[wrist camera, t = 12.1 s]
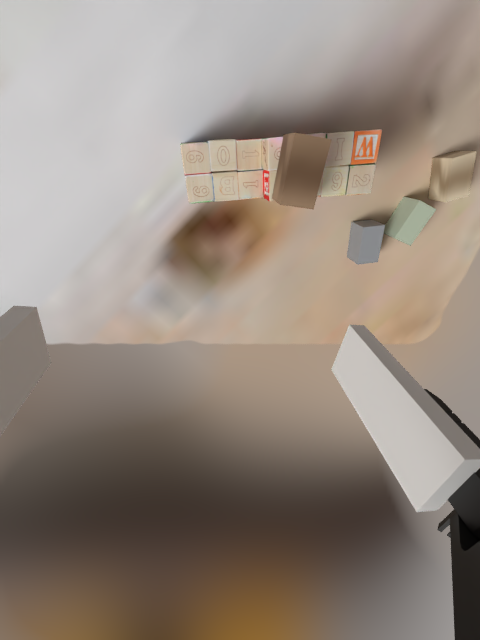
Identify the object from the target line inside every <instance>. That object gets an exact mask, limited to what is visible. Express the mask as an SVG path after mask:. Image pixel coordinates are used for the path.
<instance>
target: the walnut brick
mask: <svg viewBox="0 0 480 640" xmlns="http://www.w3.org/2000/svg"><path fill="white" fill-rule="evenodd" d="M331 141H332V139H327V138H321V137H316V136H311V135H306V134H300V133H290V134H284V136H283V141H282V146H281V152H280V157H279V162H278V168H277V173H276V178H275V184H274V189H273V194H272V199H273V200H274V201H276V202H277V203H279V204H280V205H286V206H294V207H301V208H308V209H314V205H315V201H316V197H317V194H318V190H319V186H320V182H321V178H322V175H323V171H324V167H325V163H326V160H327V156H328V152H329V148H330V144H331Z"/></svg>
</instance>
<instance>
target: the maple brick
mask: <svg viewBox="0 0 480 640" xmlns="http://www.w3.org/2000/svg"><path fill="white" fill-rule="evenodd" d="M476 153H477V151H454V152H450V153H447V154H444V155H440V156H437V157H434V158H433V160H432V168H431V177H430V186H429V195H428V199H431V200H436V201H441V202H445V203H446V202H450V201H453V200H457V199H460V198H463V197H467V196H469V191H470V186H471V180H472V175H473V170H474V164H475V159H476Z"/></svg>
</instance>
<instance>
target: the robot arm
mask: <svg viewBox="0 0 480 640" xmlns="http://www.w3.org/2000/svg"><path fill="white" fill-rule="evenodd" d="M50 364H51V359H50V356H49V352H48V348H47V345H46V341H45V337H44V333H43V330H42V326H41V322H40V319H39V315H38V311H37V307H26V306H13V307H12V308H11V309H9V310H8V311H7V312H6V313H5V314H3V315H2V316H1V317H0V436H1V434H2V433H3V432H4V430H5V429H6V427H7V426H8V424H9V423H10V422H11V420H12V418H13V417H14V416H15V414H16V413H17V411H18V410H19V409H20V407H21V405H22V404H23V403H24V401H25V400H26V399H27V397H28V396H29V394H30V393H31V391H32V390H33V388H34V387H35V386H36V384H37V383H38V381H39V380H40V378H41V377H42V376H43V374H44V373H45V371H46V370H47V368H48V367H49V366H50ZM331 370H332V371H333V373H334V375H335V376H336V378H337V379H338V381H339V383H340V385H341V386H342V388H343V390H344V391H345V393H346V395H347V396H348V398H349V400H350V401H351V403H352V405H353V406H354V408H355V410H356V411H357V413H358V415H359V416H360V418H361V420H362V422H363V423H364V425H365V427H366V428H367V430H368V431H369V433H370V435H371V437H372V438H373V440H374V441H375V443H376V445H377V447H378V448H379V450H380V452H381V453H382V455H383V456H384V458H385V460H386V461H387V463H388V465H389V467H390V468H391V470H392V472H393V473H394V475H395V477H396V478H397V480H398V482H399V483H400V485H401V487H402V488H403V490H404V492H405V493H406V494H407V497H408V498H409V500H410V502H411V503H412V505H413V507H414V508H415V510H416V511H417V512H423V511H434V510H438V509H439V508H440V507H441V506H442V505H443V504H444V503H445V502H446V501H447V500H448V501H449V502H450V503H451V505H452V506H453V508H454V510H453V511H452V512H451V513H450V514H449V515H448V516H447V517H446V518H445V519H444V520H443V521H442V522H440V523H439V526H438V530H439V531H441V532H442V531H443V530H444V529H445V528H446V527H447V526H449V525H450V532H449V533H448V534H447V536H449V537H450V538H451V556H452V581H453V605H454V629H455V640H480V440H479V439H478V438H477V437H476V436H475V435H474V433H473V432H472V431H471V430H470V429H469V428H468V427H467V426H466V425H465V424H463V423H461V420H460V419H459V418H458V417H457V416H456V415H455V414H454V413H452V411H451V410H450V409H449V408H448V406H447V405H446V404H445V403H443V401H442V400H441V399H439V398H438V397H437V396H435V395H434V394H432V393H431V392H429V391H428V390H427V389H423V388H422V387H421V386H420V385H419V383H418V382H417V381H416V380H415V379H414V378H413V377H412V376H411V375H410V374H409V373H408V372H407V371H406V370H405V368H403V366H402V365H401V364H400V363H399V362H398V361H397V360H396V359H395V358H394V357H393V356H392V355H391V354H390V353H389V351H388V350H387V349H386V348H385V347H384V346H383V345H382V344H381V343H380V342H379V341H378V340H377V339H376V338H375V336H374V335H373V334H372V333H371V332H370V331H369V330H368V329H367V328H366V327H365V326H363V325H349V327H348V330H347V332H346V335H345V337H344V340H343V342H342V345H341V347H340V350H339V352H338V355H337V357H336V359H335V362H334V364H333V367H332V369H331Z"/></svg>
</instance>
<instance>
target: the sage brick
mask: <svg viewBox="0 0 480 640" xmlns="http://www.w3.org/2000/svg"><path fill="white" fill-rule="evenodd" d="M435 211H436V209H435V208H433V207H431V206H429V205H427V204H426V203H424V202H422V201H420V200H417V199H412V198H408V197H403V199H402V200H401V202H400V203H399V205H398V206H397V208H396V209H395V211H394V212H393V214H392V216H391V217H390V219H389V220H388V222H387V223H386V225H385V228H384V234H386V235H388V236H391V237H393V238H395V239H397V240H399V241H401V242H403V243H406V244H408V245H410V246H411V244H412V243H413V241H414V240H415V239H416V237H417V236H418V234H419V233H420V232H421V230H422V229H423V227H424V226H425V225H426V223H427V222H428V220H429V219H430V218H431V216H432V215H433V213H434V212H435Z"/></svg>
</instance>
